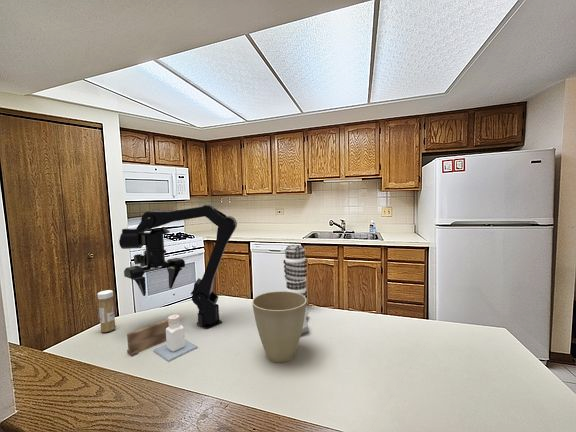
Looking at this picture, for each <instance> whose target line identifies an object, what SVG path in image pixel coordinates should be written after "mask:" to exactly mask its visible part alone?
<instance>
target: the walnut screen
mask: <svg viewBox="0 0 576 432" xmlns="http://www.w3.org/2000/svg"><path fill="white" fill-rule="evenodd" d="M167 327H169V324H168V318H167V319H165V320H162V321H158V322H155V323H153V324H151V325H148V326H145V327H141V328H140V329H137V330H134V331H131V332H128V333H127V334H126V338H127V350H126V353H127V354H128V355H129V356H131V357H134V356H137V355H139V352H142V351H144V350H148V349H150V348H152V347H155V346H157V345H159V344H161V343H163V342H166V328H167Z"/></svg>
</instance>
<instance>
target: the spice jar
mask: <svg viewBox="0 0 576 432" xmlns="http://www.w3.org/2000/svg"><path fill="white" fill-rule="evenodd" d="M97 300H98V310H99V311H98V313H99V314H98V315H99V322H100V332H101V333H108V332H112V331H113V330H115V329H116V327H117V326H116V320H115V319H116V318H115V317H116V315H115V307H114V291H113V290H111V289H107V290H101V291H99V292H97Z"/></svg>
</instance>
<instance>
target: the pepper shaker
mask: <svg viewBox="0 0 576 432" xmlns="http://www.w3.org/2000/svg"><path fill="white" fill-rule="evenodd" d="M167 319H168V324H169V327H167V328H166V341H165V344H167V348H168V349H169V350H171V351H172V352H174V351H176V350H179V349H181V348H183V347H184V346H185V342H184V339H185V330H184V329H185V328H184V326H183V325H182V324H181V316H180V314H171V315H169V316H167Z"/></svg>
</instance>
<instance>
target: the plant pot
mask: <svg viewBox="0 0 576 432" xmlns="http://www.w3.org/2000/svg"><path fill="white" fill-rule="evenodd" d="M251 301H252V302H251V304H252V310H253V314H254V320H255V325H256V328H257V333H258V336H259V338H260V341H261V344H262V347H263V350H264V353H265V354H266V357H267V359H268V360H269V361H271V362H275V363H285V362H289V361H290V360H292V359H293V358H294V357H295V354H296V352H297V349H298V345H299V343H300V339H301V335H302V334H301V332H302V328H303V323H304V317H305V310H306V302H307V303H308V299H307V298H305V296H303V295H301V294H299V293H295V292H287V291H286V290H285V291H284V290H281V291H279V290H277V291H268V292H264V293H261V294H259V295H256V296H255V297H253V299H252V300H251ZM306 311H307V310H306Z"/></svg>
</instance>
